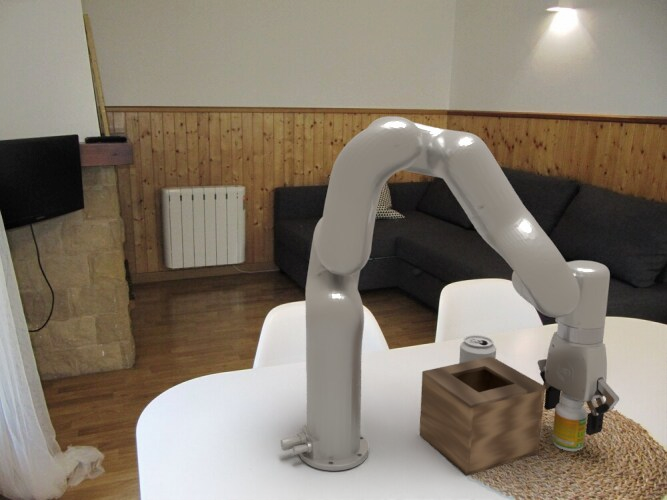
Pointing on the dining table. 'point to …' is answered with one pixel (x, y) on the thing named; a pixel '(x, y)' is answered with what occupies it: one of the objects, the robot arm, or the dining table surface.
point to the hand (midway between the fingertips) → (571, 419)
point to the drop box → (481, 413)
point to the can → (476, 348)
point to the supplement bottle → (569, 423)
